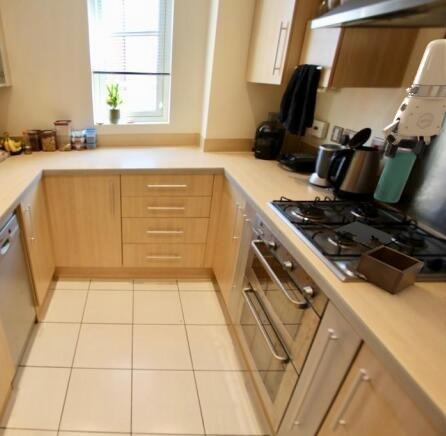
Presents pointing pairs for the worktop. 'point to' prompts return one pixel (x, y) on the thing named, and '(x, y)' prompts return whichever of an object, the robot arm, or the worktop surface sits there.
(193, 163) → the worktop surface
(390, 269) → the open box
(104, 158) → the worktop surface
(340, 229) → the mat
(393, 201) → the beverage bottle
